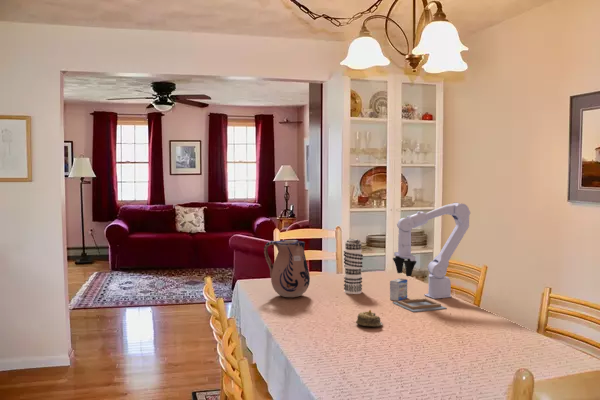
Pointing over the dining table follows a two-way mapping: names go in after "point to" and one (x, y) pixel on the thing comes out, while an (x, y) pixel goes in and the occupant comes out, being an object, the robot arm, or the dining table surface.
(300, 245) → the ceramic pitcher
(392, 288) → the medicine box
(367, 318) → the cake
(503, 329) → the dining table surface
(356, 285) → the decorative candle
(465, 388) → the dining table surface
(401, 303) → the board
